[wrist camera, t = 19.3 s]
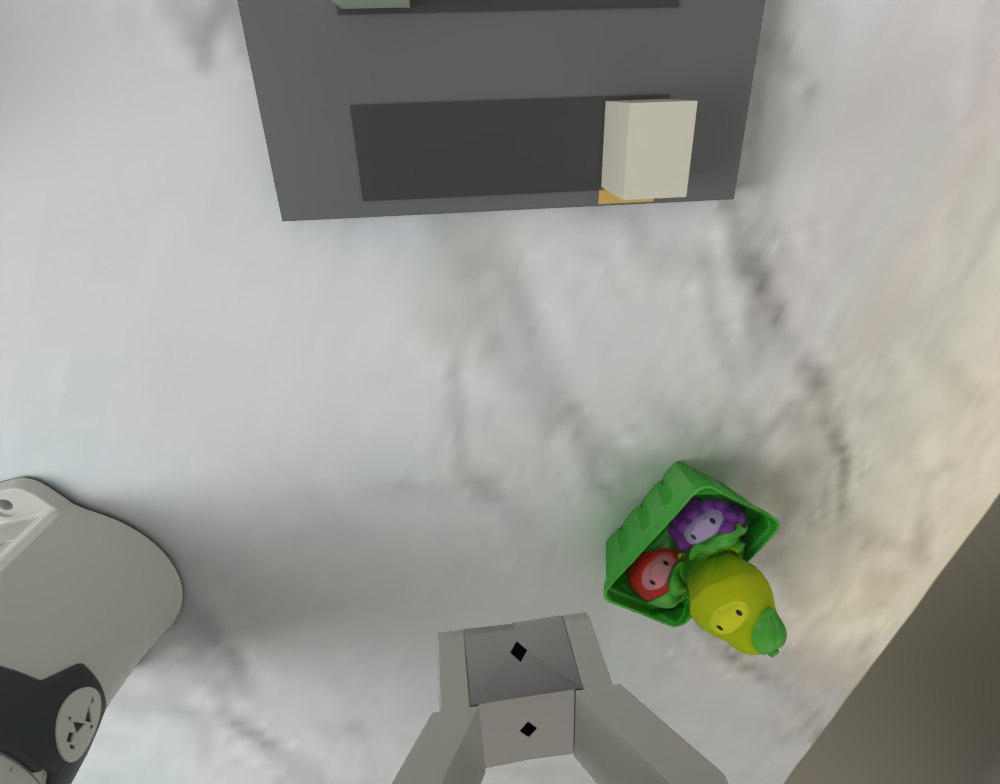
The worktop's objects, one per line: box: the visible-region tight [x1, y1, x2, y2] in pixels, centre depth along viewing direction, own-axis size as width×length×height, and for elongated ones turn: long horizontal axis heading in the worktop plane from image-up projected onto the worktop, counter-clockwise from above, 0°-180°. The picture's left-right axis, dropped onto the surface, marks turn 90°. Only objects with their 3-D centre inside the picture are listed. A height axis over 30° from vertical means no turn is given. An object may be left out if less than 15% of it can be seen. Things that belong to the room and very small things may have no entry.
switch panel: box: [237, 0, 765, 221], centre depth 28 cm, size 24×14×2 cm, turn 91°
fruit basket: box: [604, 461, 787, 657], centre depth 39 cm, size 11×9×11 cm
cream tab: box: [601, 99, 698, 200], centre depth 27 cm, size 3×4×4 cm
